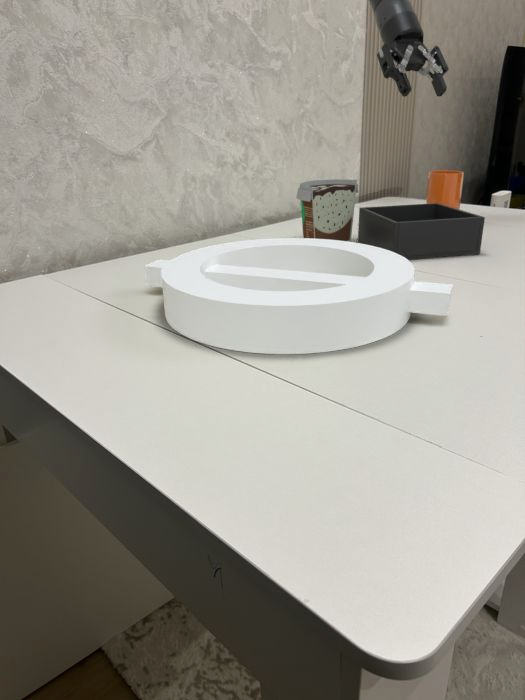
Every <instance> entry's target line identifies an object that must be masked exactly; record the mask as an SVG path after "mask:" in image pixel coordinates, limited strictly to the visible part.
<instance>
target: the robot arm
mask: <svg viewBox="0 0 525 700" xmlns="http://www.w3.org/2000/svg"><path fill="white" fill-rule="evenodd" d="M368 3H369V6H370V8H371V11H372V13H373V16H374V19H375V24H376V27H377V30H378V33H379V35H380V38H381V41H382V43H383V44H382V45H381V48H380V49H379V50H378V52H377V53H376V57H377V60H378V63H379V66H380V68H381V72H382V75H383V77H384V78H385V79H389V78H390V79H392V81H393V82H395V85H396V86H397V87H396V88H397V89H398V92H399V93H400V94H401V97H404V98H405V97H408V96H409V94H410V93H411V91H412V86H411V83H410V80H409V77H408V75H407V72H418V73H419V74H420V76H423V77H427V78H428V79H429V81H431V85H432V87H433V90H434V92H435V95H436V97H442V96H443V95H444V94H445V93H446V92H447V90H448V89H447V88H448V86H447V83H446V81H445V79H444V76H445V75H446V73H448V72H449V69H450V68H449V65H448V63H447V61H446V59H445V57H444V55H443V53H442V51H441V49H440V46H438V45H435V46H434V47H433V48H428V47H427V46H426V45H425V43H424V36H425V35H424V34H425V33H424V31H423V27H422V25H421V22H420V20H419V18H418V14H416V10H415V8H414V6H413V4H412V2H411V0H368ZM426 62H427V63H428V65H427V66H426V67H425V68H424V66H425V64H426ZM431 69H432V70H433V72H432V71H431Z"/></svg>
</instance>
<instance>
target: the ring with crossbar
mask: <svg viewBox="0 0 525 700" xmlns="http://www.w3.org/2000/svg"><path fill="white" fill-rule="evenodd" d="M143 269H144V276H145V278H144V279H145V286H146V287H153V288H154V287H156V288H162V297H163V307H164V317H165V320H166V322H167V324H168V325H169V326H170V327H171V328H172V329H173V330H174V331H175V332H177V333H178V334H180V335H182V336H184V337H186V338H188V339H190V340H193V341H195V342H197V343H201V344H203V345H207V346H211V347H215V348H219V349H225V350H229V351H236V352H243V353H251V354H252V353H253V354H265V355H266V354H267V355H303V354H304V355H307V354H319V353H328V352H335V351H341V350H348V349H353V348H357V347H361V346H365V345H368V344H372V343H375V342H377V341H381V340H382V339H385V338H387V337H389V336H392V335H394V334H395V333H397V332H398V331H399V330H401V329H402V328H403V327H405V326H406V325H407V323H408V321H409V320H410V318H411V313H412V314H422V315H423V314H424V315H430V316H431V315H432V316H440V317H441V316H442V317H448V316H449V313H450V308H451V303H452V296H453V287H454V286H453V283H440V282H429V281H428V282H427V281H416V280H415V273H416V271H415V270H416V269H415V266H414V264H413V263H412V262H411V260H407V259H406V258H405V257H403V256H401V255H399V254H397V253H394V252H392V251H389V250H386V249H383V248H379V247H375V246H371V245H366V244H362V243H361V242H353V241H351V242H348V241H339V240H329V239H313V238H303V237H278V238H277V237H275V238H258V239H257V238H256V239H245V240H237V241H236V240H235V241H230V242H224V243H218V244H213V245H208V246H203V247H201V248H197V249H196V248H195V249H194V250H190V251H187V252H184V253H182V254H180V255H178V256H175V257H173V258H172V259H171V260H170V259H169V260H168V259H156V260H154V261H152V262H150V263H148V264H145V265H144V266H143Z"/></svg>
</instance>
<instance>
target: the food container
mask: <svg viewBox="0 0 525 700" xmlns="http://www.w3.org/2000/svg"><path fill="white" fill-rule="evenodd" d="M358 193H359V183H358V180H357V179H345V178H344V179H343V178H339V179H338V178H336V179H335V178H334V179H333V178H329V179H315V180H307V181H302V182H300V183H299V187H298V188H297V192H296V196H295V197H296V199H297V200H300V210H301V211H300V212H301V223H302V224H301V227H302V238H313V239H329V240H339V241H348V242H352V234H353V225H354V215H355V207H356V197H357V196H356V195H357V194H358Z"/></svg>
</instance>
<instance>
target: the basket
mask: <svg viewBox="0 0 525 700" xmlns="http://www.w3.org/2000/svg"><path fill="white" fill-rule="evenodd" d="M358 212H359V213H358V229H357V231H358V232H357V242H358V243H361V244H366V245H371V246H375V247H379V248H383V249H386V250H389V251H392V252H394V253H397V254H399V255H401V256H403V257H405V258H406V259H407V260H409V261H412V260H425V259H436V258H438V259H439V258H449V257H462V256H464V257H465V256H475V255H476V256H477V255H480V254H481V248H482V242H483V233H484V226H485V219H486V217H485V216H482V215H479V214H475V213H472V212H470V211H466V210H463V209H456V208H453V207H449V206H446V205H443V204H439V203H429V204H426V203H415V204H413V203H412V204H397V205H382V206H381V205H380V206H365V207H359V210H358Z"/></svg>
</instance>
